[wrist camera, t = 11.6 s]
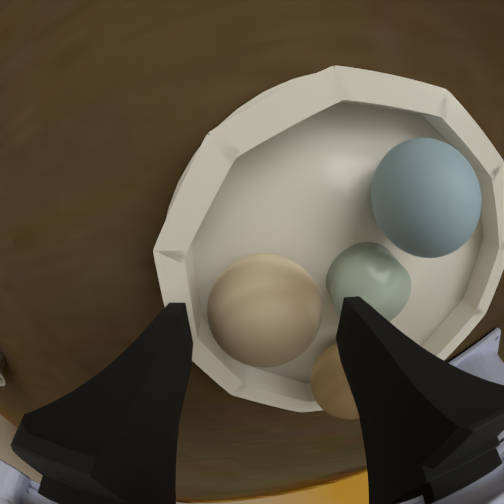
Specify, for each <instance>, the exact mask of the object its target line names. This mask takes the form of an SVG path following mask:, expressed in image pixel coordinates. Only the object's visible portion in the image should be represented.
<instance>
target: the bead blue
mask: <svg viewBox="0 0 504 504" xmlns="http://www.w3.org/2000/svg"><path fill="white" fill-rule="evenodd" d="M371 203H372V208H373V212H374V216H375V219H376V221H377V223H378V225H379V227H380V229H381V230H382V232H383V233H384V235H385V236H386V237H387V238H388V239H389V240H390V242H392V243H393V244H394V245H395V246H397V247H398V248H399V249H401V250H402V251H404V252H406V253H408V254H411V255H413V256H417V257H422V258H437V257H442V256H445V255H448V254H450V253H452V252H454V251H456V250H457V249H459V248H460V247H461V246H463V245H464V244H465V243H466V242H467V240H468V239H469V238H470V237H471V235H472V234H473V232H474V230H475V228H476V226H477V224H478V221H479V217H480V213H481V205H482V198H481V189H480V185H479V181H478V179H477V176H476V173H475V171H474V170H473V168H472V166H471V165H470V163H469V162H468V160H467V159H466V158H465V157H464V156H463V155H462V154H461V153H460V152H459V151H458V150H456V149H455V148H454V147H452V146H451V145H449V144H447V143H445V142H443V141H440V140H436V139H432V138H414V139H410V140H406V141H404V142H402V143H400V144H398V145H396V146H395V147H393V148H392V149H391V150H390V151H388V153H387V154H386V155H385V156H384V157H383V158H382V160H381V161H380V163H379V165H378V167H377V168H376V171H375V174H374V177H373V181H372V187H371Z"/></svg>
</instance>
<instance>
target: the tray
mask: <svg viewBox="0 0 504 504" xmlns="http://www.w3.org/2000/svg"><path fill="white" fill-rule="evenodd" d="M414 138H432V139H436V140H440V141H443V142H445V143H447V144H449V145H451V146H452V147H454V148H455V149H456V150H458V151H459V152H460V153H461V154H462V155H463V156H464V157H465V158H466V159H467V160H468V162H469V163H470V165H471V166H472V168H473V170H474V171H475V173H476V176H477V179H478V181H479V185H480V189H481V198H482V205H481V213H480V217H479V221H478V224H477V226H476V228H475V230H474V232H473V234H472V235H471V237H470V238H469V239H468V240H467V242H466V243H465V244H464V245H463V246H461V247H460V248H459V249H457V250H456V251H454V252H452V253H450V254H448V255H445V256H442V257H437V258H422V257H417V256H413V255H411V254H408V253H406V252H404V251H402V250H401V249H399V248H398V247H397V246H395V245H394V244H393V243H392V242H390V240H389V239H388V238H387V237H386V236H385V235H384V233H383V232H382V230H381V229H380V227H379V225H378V223H377V221H376V219H375V216H374V212H373V208H372V203H371V187H372V181H373V177H374V174H375V171H376V168H377V167H378V165H379V163H380V161H381V160H382V158H383V157H384V156H385V155H386V154H387V153H388V151H390V150H391V149H392V148H393V147H395V146H396V145H398V144H400V143H402V142H404V141H406V140H410V139H414ZM153 250H154V251H153V254H154V259H155V264H156V269H157V274H158V279H159V284H160V289H161V293H162V298H163V302H164V307H166V306H167V304H168V303H169V302H172V303H186V308H187V314H188V319H189V324H190V329H191V334H192V339H193V352H192V361H193V362H194V363H195V364H196V365H197V366H198V367H200V368H201V369H202V370H203V371H204V372H205V373H206V374H207V375H208V376H210V377H211V378H212V379H213V380H214V381H215V382H216V383H218V384H219V385H220V386H221V387H222V388H223V389H225V390H226V391H227V392H228V393H229V394H231V395H233V396H237V397H240V398H244V399H247V400H251V401H255V402H258V403H262V404H266V405H270V406H274V407H278V408H283V409H287V410H292V411H296V412H311V411H320V410H323V409H322V408H321V407H320V406H319V405H318V404H317V402H316V401H315V398H314V396H313V394H312V390H311V373H312V369H313V366H314V364H315V362H316V360H317V359H318V357H319V356H320V354H321V353H322V352H323V351H324V350H325V349H326V348H327V347H329V346H330V345H332V344H333V343H335V342H336V334H337V329H338V325H339V320H340V315H341V310H342V305H343V299H344V297H355V296H359V297H361V298H362V299H363V300H364V301H366V302H367V303H368V304H369V305H370V306H372V307H373V308H374V309H375V310H376V311H377V312H379V313H380V314H381V315H382V316H383V317H384V318H386V319H387V320H388V321H389V322H390V323H391V324H393V325H394V326H395V327H396V328H398V329H399V330H400V331H401V332H403V333H404V334H405V335H406V336H408V337H409V338H410V339H412V340H413V341H414V342H416V343H417V344H418V345H420V346H421V347H423V348H424V349H426V350H427V351H429V352H431V353H432V354H434V355H435V356H437V357H439V358H440V359H442V360H445V359H446V358H447V357H448V356H449V355H450V354H451V353H452V352H453V351H454V350H455V349H456V348H457V347H458V345H459V344H460V343H461V342H462V341H463V340H464V339H465V338H466V337H467V335H468V334H469V333H470V332H471V331H472V330H473V329H474V327H475V326H476V325H477V324H478V323H479V321H480V320H481V319H482V318H483V316H484V315H485V313H486V312H487V310H488V307H489V305H490V303H491V300H492V298H493V296H494V293H495V291H496V288H497V286H498V283H499V280H500V278H501V275H502V272H503V269H504V161H503V159H502V158H501V156H500V155H499V153H498V152H497V150H496V149H495V147H494V146H493V145H492V143H491V142H490V140H489V139H488V138H487V136H486V135H485V134H484V132H483V131H482V130H481V128H480V127H479V126H478V125H477V123H476V122H475V121H474V120H473V118H472V117H471V116H470V115H469V113H468V112H467V111H466V110H465V109H464V108H463V106H462V105H461V104H460V103H459V102H458V101H457V100H456V99H455V97H454V96H453V95H452V94H451V93H450V92H449V91H448V90H447V89H444V88H441V87H437V86H434V85H430V84H427V83H423V82H420V81H416V80H412V79H408V78H404V77H399V76H395V75H390V74H385V73H380V72H375V71H369V70H364V69H357V68H351V67H343V66H331V67H329V68H327V69H325V70H322V71H320V72H318V73H315V74H310V75H306V76H302V77H299V78H295V79H292V80H289V81H287V82H285V83H282V84H280V85H278V86H275V87H273V88H271V89H269V90H267V91H264V92H263V93H261V94H259V95H258V96H256V97H255V98H253V99H252V100H250V101H249V102H247V103H246V104H244V105H242V106H241V107H239V108H238V109H237V110H235V111H234V112H233V113H232V114H231V115H230V116H229V117H228V118H227V119H225V120H224V121H223V122H222V123H221V124H220V125H219V126H218V127H216V128H215V129H213V130H212V131H210V132H208V134H207V135H206V137H205V139H204V141H203V143H202V145H201V146H200V148H199V149H198V150H197V152H196V153H195V154H194V155H193V157H192V159H191V160H190V162H189V164H188V166H187V167H186V169H185V171H184V173H183V174H182V176H181V178H180V180H179V182H178V184H177V187H176V189H175V192H174V195H173V197H172V200H171V203H170V206H169V208H168V213H167V218H166V221H165V223H164V225H163V227H162V230H161V232H160V235H159V237H158V239H157V242H156V244H155V247H154V249H153ZM260 253H270V254H277V255H281V256H285V257H287V258H289V259H291V260H293V261H295V262H296V263H298V264H299V265H301V266H302V267H303V268H304V269H305V270H306V271H307V272H308V273H309V274H310V275H311V277H312V278H313V280H314V281H315V283H316V285H317V287H318V289H319V292H320V296H321V300H322V311H323V312H322V320H321V325H320V328H319V331H318V333H317V336H316V337H315V339H314V341H313V342H312V344H311V345H310V346H309V348H308V349H307V350H306V351H305V352H304V353H302V354H301V355H300V356H299V357H297V358H296V359H294V360H293V361H290V362H288V363H286V364H283V365H280V366H276V367H268V368H262V367H253V366H249V365H245V364H243V363H241V362H239V361H237V360H235V359H233V358H232V357H230V356H229V355H228V354H227V353H226V352H224V351H223V350H222V349H221V347H220V346H219V345H218V344H217V342H216V341H215V339H214V337H213V335H212V333H211V330H210V328H209V323H208V318H207V303H208V298H209V294H210V291H211V288H212V286H213V284H214V282H215V281H216V279H217V278H218V276H219V275H220V274H221V273H222V272H223V271H224V270H225V269H226V268H227V267H228V266H229V265H230V264H232V263H233V262H235V261H237V260H239V259H241V258H243V257H246V256H249V255H253V254H260Z"/></svg>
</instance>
